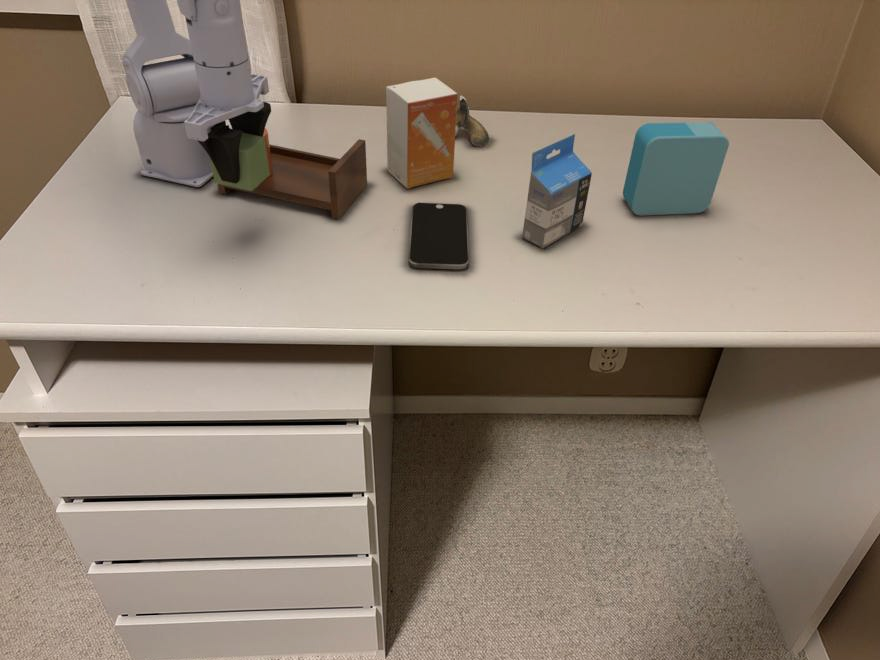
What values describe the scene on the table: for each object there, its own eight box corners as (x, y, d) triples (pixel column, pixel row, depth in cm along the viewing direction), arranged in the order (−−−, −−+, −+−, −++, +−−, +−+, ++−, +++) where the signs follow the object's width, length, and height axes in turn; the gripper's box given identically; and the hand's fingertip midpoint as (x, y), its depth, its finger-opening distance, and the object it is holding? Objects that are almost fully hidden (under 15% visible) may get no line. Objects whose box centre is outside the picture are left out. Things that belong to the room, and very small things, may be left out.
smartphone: (467, 203, 102) (469, 265, 91) (466, 208, 102) (469, 270, 91) (412, 201, 101) (407, 263, 90) (412, 206, 102) (407, 268, 91)
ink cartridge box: (542, 250, 96) (555, 164, 88) (520, 238, 98) (531, 153, 89) (583, 226, 101) (598, 143, 93) (561, 215, 103) (574, 132, 94)
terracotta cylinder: (238, 176, 100) (230, 135, 96) (252, 163, 103) (246, 123, 99) (264, 182, 99) (258, 141, 95) (278, 169, 102) (273, 128, 98)
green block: (214, 183, 88) (206, 144, 84) (233, 167, 91) (226, 129, 87) (252, 191, 87) (245, 152, 83) (269, 174, 90) (264, 136, 87)
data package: (695, 197, 109) (718, 121, 101) (707, 213, 106) (732, 136, 98) (620, 200, 107) (637, 122, 99) (630, 216, 104) (648, 137, 96)
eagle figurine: (423, 127, 118) (459, 137, 112) (437, 83, 116) (475, 92, 111) (454, 142, 124) (491, 153, 118) (468, 101, 122) (506, 109, 117)
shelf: (338, 219, 98) (335, 172, 93) (219, 193, 101) (209, 146, 96) (367, 185, 105) (365, 140, 101) (255, 161, 108) (248, 116, 104)
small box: (407, 190, 105) (406, 102, 96) (386, 171, 109) (384, 85, 100) (454, 178, 109) (458, 92, 100) (433, 159, 112) (435, 75, 103)
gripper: (218, 88, 73) (239, 206, 82) (286, 42, 84) (298, 152, 93) (156, 76, 74) (184, 194, 83) (230, 32, 85) (248, 141, 94)
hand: (240, 171), depth 88 cm, fingers closed on green block, 4 cm apart
